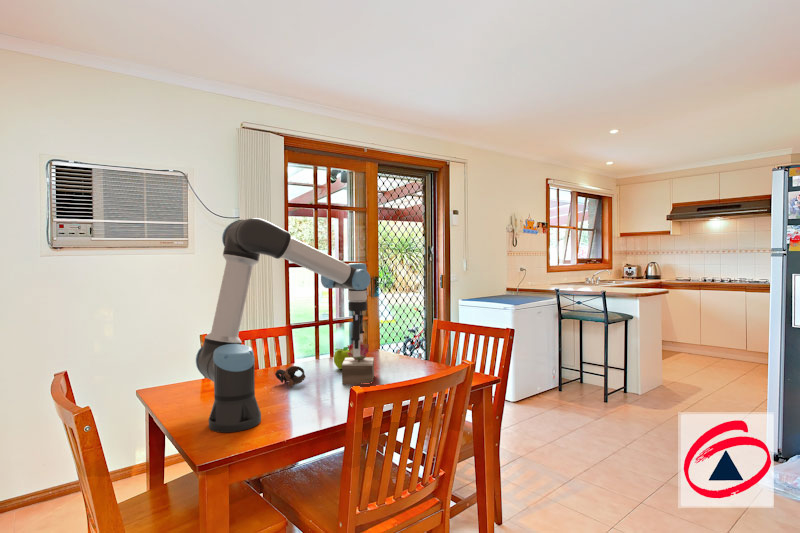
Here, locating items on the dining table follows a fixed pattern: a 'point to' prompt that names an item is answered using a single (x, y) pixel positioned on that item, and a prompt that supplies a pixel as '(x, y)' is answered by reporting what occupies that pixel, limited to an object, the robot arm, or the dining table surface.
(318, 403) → the dining table surface
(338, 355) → the fruit
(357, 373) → the pedestal
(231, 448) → the dining table surface
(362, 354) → the flower
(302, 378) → the pottery mug
